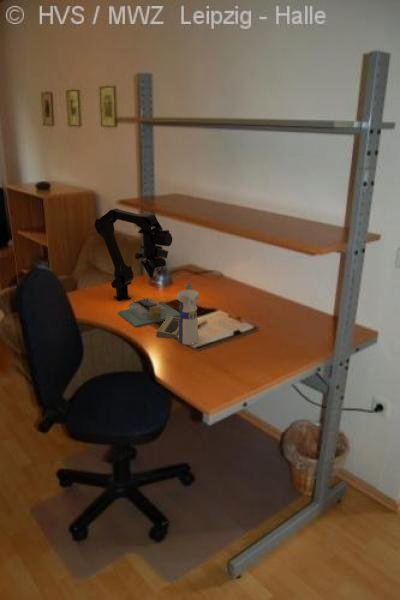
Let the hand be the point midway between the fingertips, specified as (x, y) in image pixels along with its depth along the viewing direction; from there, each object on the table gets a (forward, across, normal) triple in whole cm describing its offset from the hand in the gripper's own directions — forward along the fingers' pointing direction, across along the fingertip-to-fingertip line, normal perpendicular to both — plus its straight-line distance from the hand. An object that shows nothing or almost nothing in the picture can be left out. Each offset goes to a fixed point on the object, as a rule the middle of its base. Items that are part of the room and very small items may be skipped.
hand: (150, 277), depth 212 cm
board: (+13, -11, +7) cm, 18 cm away
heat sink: (+12, -12, +8) cm, 19 cm away
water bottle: (+13, -42, +6) cm, 44 cm away
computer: (+14, -30, +7) cm, 33 cm away
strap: (+8, -11, +8) cm, 16 cm away
